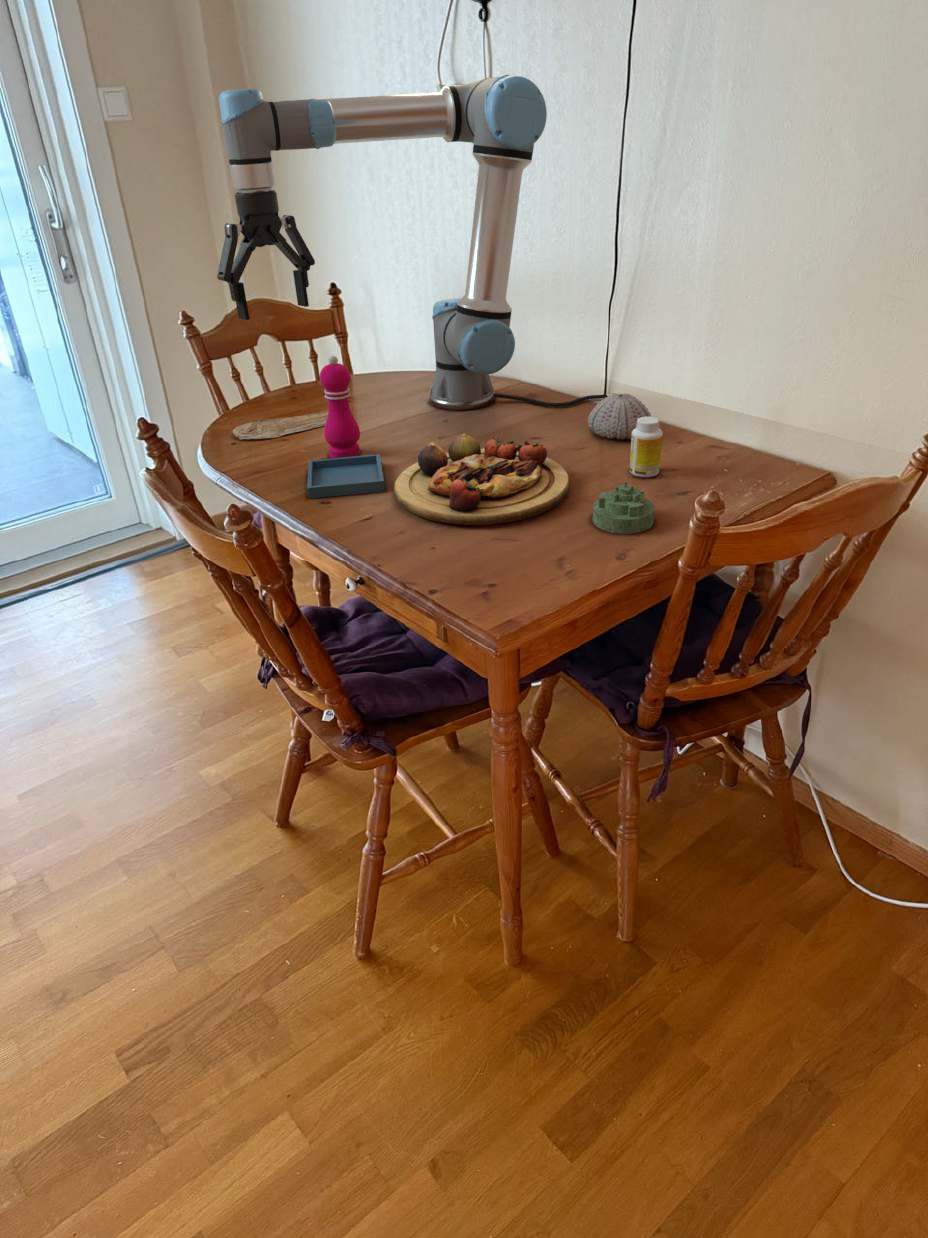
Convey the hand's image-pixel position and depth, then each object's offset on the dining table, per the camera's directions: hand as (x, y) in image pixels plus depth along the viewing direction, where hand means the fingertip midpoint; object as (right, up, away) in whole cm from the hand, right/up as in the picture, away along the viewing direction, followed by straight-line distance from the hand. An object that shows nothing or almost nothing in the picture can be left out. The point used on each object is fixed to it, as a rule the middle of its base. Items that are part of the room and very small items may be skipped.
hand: (274, 312), depth 162 cm
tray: (+14, -33, -3) cm, 36 cm away
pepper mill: (+12, -26, +9) cm, 30 cm away
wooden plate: (+40, -36, -10) cm, 55 cm away
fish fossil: (-2, -17, +25) cm, 30 cm away
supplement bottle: (+71, -33, -6) cm, 78 cm away
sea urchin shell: (+70, -21, +13) cm, 74 cm away
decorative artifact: (+63, -44, -23) cm, 80 cm away
